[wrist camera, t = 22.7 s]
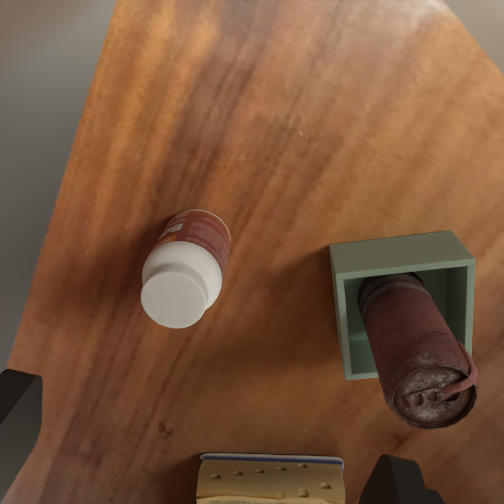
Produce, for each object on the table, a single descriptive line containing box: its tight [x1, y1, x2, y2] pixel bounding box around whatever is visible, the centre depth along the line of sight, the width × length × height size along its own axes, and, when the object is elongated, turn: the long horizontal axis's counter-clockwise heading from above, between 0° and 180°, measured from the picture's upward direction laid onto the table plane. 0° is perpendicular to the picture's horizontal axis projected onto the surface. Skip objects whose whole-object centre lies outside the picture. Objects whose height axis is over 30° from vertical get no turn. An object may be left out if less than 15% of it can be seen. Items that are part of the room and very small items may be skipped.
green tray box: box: [329, 230, 475, 380], centre depth 42 cm, size 11×11×6 cm
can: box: [357, 272, 478, 430], centre depth 37 cm, size 6×6×14 cm
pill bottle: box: [141, 209, 231, 328], centre depth 38 cm, size 6×6×11 cm
